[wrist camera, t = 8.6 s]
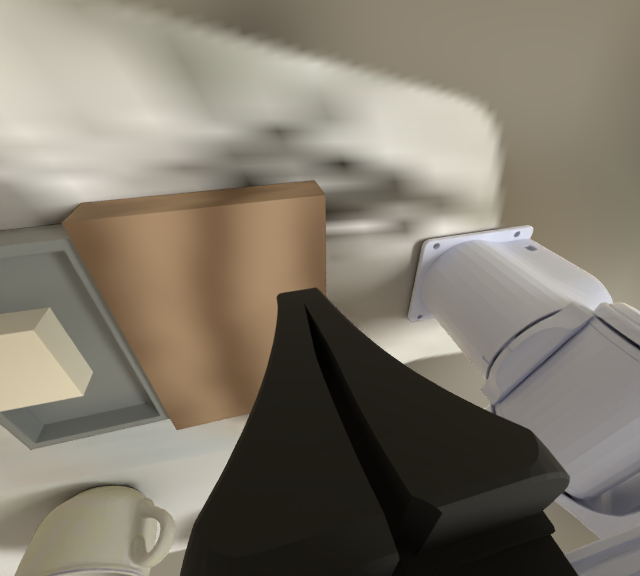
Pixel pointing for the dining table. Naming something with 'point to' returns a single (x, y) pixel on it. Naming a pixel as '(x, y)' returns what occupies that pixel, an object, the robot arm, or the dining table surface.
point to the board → (203, 284)
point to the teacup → (100, 536)
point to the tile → (38, 360)
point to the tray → (86, 333)
